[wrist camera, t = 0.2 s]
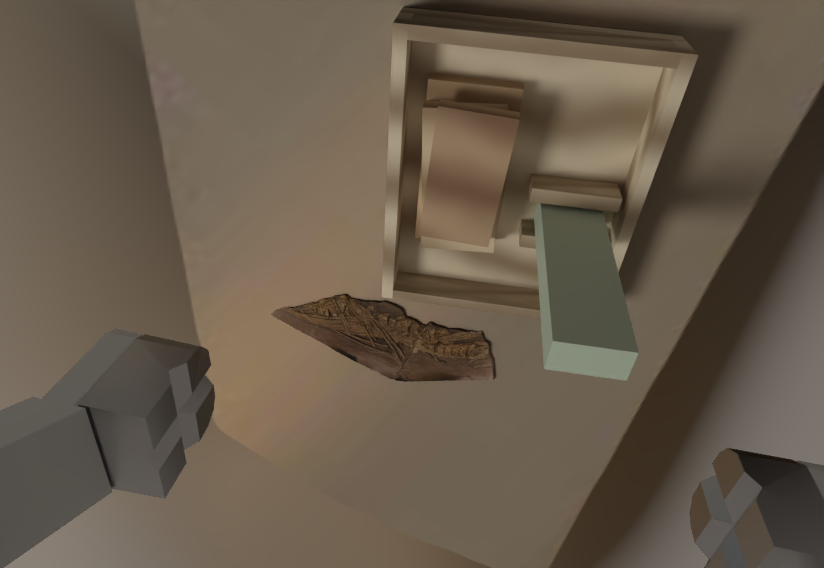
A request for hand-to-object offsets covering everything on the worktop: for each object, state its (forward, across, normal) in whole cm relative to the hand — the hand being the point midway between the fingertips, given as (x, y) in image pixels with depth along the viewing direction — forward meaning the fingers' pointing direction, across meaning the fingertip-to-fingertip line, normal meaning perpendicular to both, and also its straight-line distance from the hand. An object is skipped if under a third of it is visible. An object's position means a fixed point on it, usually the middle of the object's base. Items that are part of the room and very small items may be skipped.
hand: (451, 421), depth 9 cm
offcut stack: (+38, +1, +11) cm, 40 cm away
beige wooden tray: (+40, -3, +12) cm, 42 cm away
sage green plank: (+39, -8, +14) cm, 42 cm away
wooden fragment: (+42, +7, +34) cm, 54 cm away
